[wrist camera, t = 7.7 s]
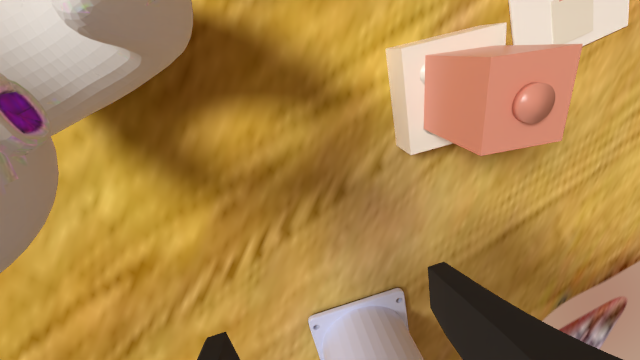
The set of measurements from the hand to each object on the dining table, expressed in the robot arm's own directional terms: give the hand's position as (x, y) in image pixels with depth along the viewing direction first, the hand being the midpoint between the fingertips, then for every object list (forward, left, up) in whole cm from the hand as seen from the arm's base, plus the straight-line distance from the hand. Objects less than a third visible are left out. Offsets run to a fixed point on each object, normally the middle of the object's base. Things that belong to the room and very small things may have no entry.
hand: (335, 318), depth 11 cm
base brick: (+4, -10, -11) cm, 15 cm away
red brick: (+5, -10, -8) cm, 14 cm away
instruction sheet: (+7, -19, -10) cm, 23 cm away
